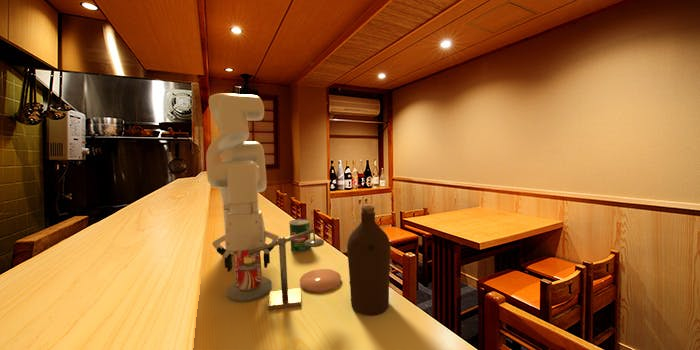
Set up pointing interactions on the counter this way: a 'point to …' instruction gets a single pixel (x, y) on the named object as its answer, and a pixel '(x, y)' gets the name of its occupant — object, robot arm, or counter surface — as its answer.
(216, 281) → the counter surface
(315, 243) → the balance
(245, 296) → the dish low
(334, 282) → the dish high
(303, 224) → the canned tomato
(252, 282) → the soda can
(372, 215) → the olive oil
